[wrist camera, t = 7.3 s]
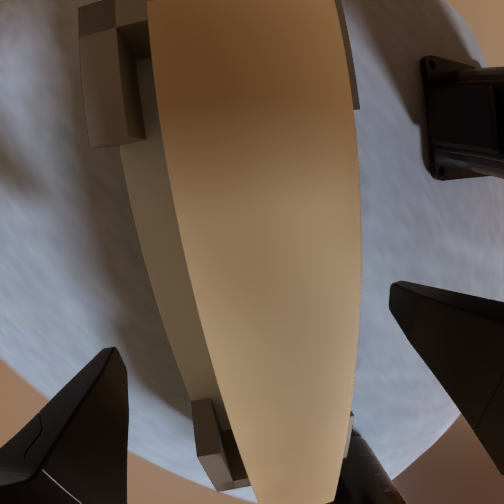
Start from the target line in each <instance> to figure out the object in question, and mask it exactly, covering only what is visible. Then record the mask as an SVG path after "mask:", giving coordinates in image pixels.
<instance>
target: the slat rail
mask: <svg viewBox="0 0 504 504" xmlns="http://www.w3.org/2000/svg"><path fill="white" fill-rule="evenodd" d="M148 1H153V0H102V1H99V2H96V3H92V4H89V5H86V6H83V7H80V8H79V9H78V22H79V53H80V69H81V81H82V92H83V101H84V109H85V117H86V124H87V131H88V138H89V144H90V148H95V147H110V146H119V148H120V154H121V160H122V165H123V171H124V176H125V181H126V186H127V191H128V195H129V200H130V205H131V209H132V213H133V218H134V222H135V226H136V230H137V235H138V239H139V243H140V246H141V250H142V254H143V258H144V262H145V265H146V269H147V273H148V276H149V280H150V283H151V287H152V290H153V293H154V297H155V300H156V303H157V306H158V310H159V313H160V316H161V319H162V322H163V325H164V328H165V331H166V334H167V337H168V340H169V343H170V346H171V349H172V352H173V355H174V357H175V360H176V363H177V366H178V368H179V371H180V374H181V376H182V379H183V382H184V384H185V387H186V389H187V392H188V394H189V397H190V399H191V404H192V415H193V425H194V434H195V443H196V451H197V457H198V459H199V461H200V463H201V465H202V466H203V468H204V470H205V472H206V473H207V475H208V477H209V479H210V480H211V482H212V484H213V485H214V487H215V489H216V490H217V492H219V491H225V490H231V489H237V488H242V487H247V486H251V483H250V480H249V477H248V475H247V472H246V469H245V466H244V463H243V460H242V458H241V455H240V452H239V449H238V446H237V443H236V440H235V437H234V434H233V431H232V428H231V424H230V421H229V418H228V415H227V412H226V409H225V405H224V402H223V399H222V396H221V392H220V389H219V386H218V382H217V379H216V375H215V372H214V368H213V365H212V361H211V358H210V354H209V351H208V347H207V343H206V340H205V336H204V332H203V328H202V324H201V321H200V317H199V313H198V309H197V305H196V301H195V297H194V293H193V288H192V284H191V280H190V276H189V271H188V267H187V263H186V258H185V254H184V249H183V245H182V240H181V235H180V231H179V226H178V221H177V216H176V211H175V206H174V201H173V196H172V190H171V185H170V179H169V174H168V168H167V163H166V157H165V151H164V145H163V138H162V132H161V125H160V119H159V112H158V105H157V97H156V90H155V82H154V74H153V65H152V56H151V47H150V36H149V25H148V13H147V2H148ZM335 5H336V9H337V14H338V18H339V23H340V28H341V33H342V38H343V43H344V49H345V55H346V60H347V67H348V73H349V80H350V87H351V94H352V102H353V110H358V109H360V105H359V98H358V90H357V83H356V76H355V70H354V64H353V58H352V52H351V46H350V41H349V36H348V31H347V26H346V21H345V17H344V12H343V8H342V3H341V0H335ZM353 419H354V415H353V413H352V411H351V412H350V419H349V425H348V432H347V438H346V444H345V449H344V455H343V458H346V457H347V453H348V448H349V442H350V437H351V431H352V425H353Z"/></svg>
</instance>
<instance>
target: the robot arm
mask: <svg viewBox="0 0 504 504" xmlns="http://www.w3.org/2000/svg"><path fill="white" fill-rule="evenodd" d="M429 63H430V66H431V67H430V66H429ZM420 65H421V71H422V77H423V84H424V92H425V100H426V109H427V120H428V132H429V149H430V172H431V176H432V177H433V178H434V179H436V180H441V181H444V180H453V179H463V178H474V177H485V176H494V177H498V178H502V179H504V67H488V68H475V67H472V66H468V65H465V64H462V63H458V62H454V61H451V60H447V59H443V58H439V57H435V56H424V57H422V58H421V60H420ZM439 168H440V172H439ZM389 309H390V311H391V313H392V315H393V316H394V318H395V319H396V321H397V323H398V324H399V326H400V327H401V329H402V331H403V332H404V334H405V336H406V337H407V339H408V340H409V342H410V343H411V345H412V346H413V347H414V349H415V350H416V351H417V353H418V354H419V355H420V357H421V358H422V359H423V361H424V362H425V363H426V365H427V366H428V367H429V369H430V370H431V371H432V373H433V374H434V375H435V377H436V378H437V379H438V381H439V382H440V383H441V385H442V386H443V388H444V389H445V390H446V392H447V393H448V395H449V396H450V397H451V399H452V400H453V402H454V403H455V404H456V406H457V407H458V409H459V410H460V412H461V413H462V414H463V416H464V417H465V419H466V420H467V422H468V423H469V425H470V426H471V428H472V429H473V430H474V433H475V434H476V436H477V437H478V438H479V440H480V442H481V443H482V445H483V446H484V448H485V449H486V451H487V453H488V454H489V456H490V457H491V459H492V461H493V462H494V464H495V465H496V467H497V469H498V470H499V472H500V473H501V474H502V475H504V302H500V301H496V300H491V299H489V300H488V299H486V298H481V297H477V296H472V295H467V294H463V293H458V292H453V291H449V290H444V289H439V288H435V287H430V286H425V285H421V284H416V283H411V282H406V281H398V282H395V283H393V284H392V285H391V287H390V296H389ZM128 425H129V404H128V380H127V370H126V367H125V364H124V362H123V360H122V358H121V356H120V354H119V351H118V350H117V348H115V347H110V348H104V349H102V350H101V351H100V352H99V353H98V354H97V355H96V356H95V357H94V358H93V359H92V360H91V361H90V362H89V363H88V364H87V365H86V366H85V367H84V368H83V369H82V370H81V371H80V372H79V373H78V374H77V375H76V376H75V377H74V378H73V379H72V380H71V381H69V382H68V383H67V384H66V385H65V386H64V387H63V388H62V389H61V390H60V391H59V392H58V393H57V394H56V395H55V396H54V397H53V398H52V399H51V400H50V401H49V402H48V403H47V404H46V406H45V407H43V408H42V409H41V410H40V412H39V413H38V414H36V415H35V416H34V418H33V419H32V420H31V421H30V422H29V423H28V424H26V426H25V427H23V428H22V429H21V430H20V431H19V432H18V433H17V434H16V435H15V436H14V437H13V438H11V439H10V440H9V441H8V442H7V443H6V444H5V445H3V446H2V447H1V448H0V504H127V447H128Z"/></svg>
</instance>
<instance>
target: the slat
mask: <svg viewBox="0 0 504 504" xmlns="http://www.w3.org/2000/svg"><path fill="white" fill-rule="evenodd" d="M147 13H148V25H149V36H150V47H151V56H152V65H153V74H154V82H155V90H156V97H157V105H158V112H159V119H160V125H161V132H162V138H163V145H164V151H165V157H166V163H167V168H168V174H169V179H170V185H171V190H172V196H173V201H174V206H175V211H176V216H177V221H178V226H179V231H180V235H181V240H182V245H183V249H184V254H185V258H186V263H187V267H188V271H189V276H190V280H191V284H192V288H193V293H194V297H195V301H196V305H197V309H198V313H199V317H200V321H201V324H202V328H203V332H204V336H205V340H206V343H207V347H208V351H209V354H210V358H211V361H212V365H213V368H214V372H215V375H216V379H217V382H218V386H219V389H220V392H221V396H222V399H223V402H224V405H225V409H226V412H227V415H228V418H229V421H230V424H231V428H232V431H233V434H234V437H235V440H236V443H237V446H238V449H239V452H240V455H241V458H242V460H243V463H244V466H245V469H246V472H247V475H248V477H249V480H250V483H251V486H252V488H253V491H254V494H255V496H256V499H257V502H258V504H326V503H329V502H332V501H334V498H335V494H336V489H337V485H338V480H339V475H340V470H341V465H342V460H343V455H344V449H345V444H346V438H347V432H348V425H349V419H350V412H351V404H352V396H353V388H354V380H355V370H356V360H357V348H358V335H359V320H360V300H361V261H362V237H361V198H360V178H359V163H358V150H357V138H356V128H355V118H354V110H353V102H352V94H351V87H350V80H349V73H348V67H347V60H346V55H345V49H344V43H343V38H342V33H341V28H340V23H339V18H338V14H337V9H336V5H335V0H153V1H148V2H147Z"/></svg>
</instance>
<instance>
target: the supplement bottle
mask: <svg viewBox="0 0 504 504" xmlns="http://www.w3.org/2000/svg"><path fill="white" fill-rule="evenodd" d="M326 504H406V503H405V501H404V499H403V498H402V496H401V495H400V493H399V492H398V490H397V488H396V487H395V485H394V484H393V482H392V481H391V479H390V478H389V476H388V474H387V473H386V471H385V470H384V468H383V467H382V465H381V463H380V462H379V460H378V459H377V457H376V456H375V454H374V453H373V451H372V449H371V448H370V447H369V445H368V444H367V442H366V441H365V440H364V439H363V438H361V437H359V436H355V435H351V437H350V442H349V448H348V453H347V457H346V458H343V460H342V465H341V470H340V475H339V480H338V485H337V489H336V494H335V498H334V501H332V502H329V503H326Z"/></svg>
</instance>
